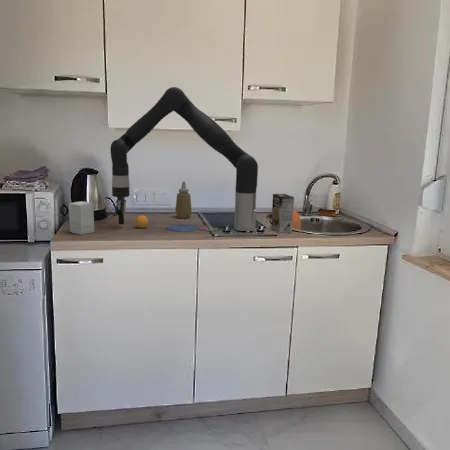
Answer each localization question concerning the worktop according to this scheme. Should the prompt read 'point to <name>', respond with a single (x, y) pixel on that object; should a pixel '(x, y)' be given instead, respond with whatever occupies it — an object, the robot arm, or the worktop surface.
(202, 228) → the disc
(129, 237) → the worktop surface
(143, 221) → the ball
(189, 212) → the squeeze bottle
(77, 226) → the supplement box
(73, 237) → the worktop surface
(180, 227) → the disc
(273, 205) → the coffee box
